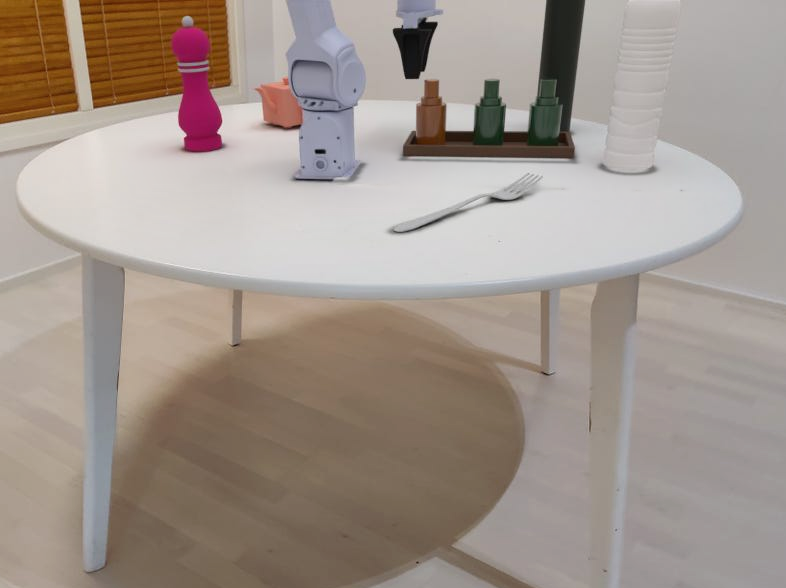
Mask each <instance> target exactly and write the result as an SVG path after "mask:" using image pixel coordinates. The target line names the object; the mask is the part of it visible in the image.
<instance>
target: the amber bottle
mask: <svg viewBox="0 0 786 588" xmlns="http://www.w3.org/2000/svg"><path fill="white" fill-rule="evenodd" d="M447 104H448V103H447V102H444V101H443V96H442V95H440V79H438V78H428V79H424V81H423V96H420V102H417V103H415V131H416V145H446V131H447V111H448V110H447V109H448V107H447Z"/></svg>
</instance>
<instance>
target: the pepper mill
mask: <svg viewBox="0 0 786 588" xmlns="http://www.w3.org/2000/svg"><path fill="white" fill-rule="evenodd" d="M181 24H182V26H183V27H181V28H179V29H177V30H176V31H175V32H174V33H173V34H172V36H171V40H170V46H171V51H172V54H173V55H174V56H175V57H176V58H177V59H178V61H177V62H176V65H177V71H178V72H180V76H181V80H182V88H183V89H182V96H181V101H180V104H179V109H178V112H177V113H178V114H177V123H178V127H179V128H180V130H181V131H182V132H183V133H184V134H185V135H186V136H185V137H183V144H184V149H185V150H186V151H189V152H210V151H214V150H215V151H216V150H219V149H220V148H222V147H223V140H222V135H221V133H218V132H219V130H220V129H221V127H222V125H223V116H222V112H221V110H220V107H219V105H218V103H217V101H216V100H215V98H214V96H213V93H212V92H211V91H212V90H211V88H210V85H209V81H208V71H209V70H210V66H209V62H210V61H209V60H208V59H207V56H208V54H209V53H210V50H211V44H210V43H211V42H210V39H209V37H208V35H207V33H206V32H205V31H204V30H202V29H200V28H198V27H195V26H194V19H193V18H192V17H191V16H189V15H185V16H183V17H182V19H181Z"/></svg>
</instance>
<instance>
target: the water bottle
mask: <svg viewBox="0 0 786 588" xmlns="http://www.w3.org/2000/svg"><path fill="white" fill-rule="evenodd" d="M681 1H682V0H628V1H627V3H626V6H625V9H624V12H623V13H624V14H623V22H622V26H623V27H622V30H621V34H622V35H621V37H620V43H619V47H620V48H619V50H618V54H619V55H618V57H617V61H618V62H617V64H616V71H615V76H614V81H613V87H614V88H613V90H612V96H611V105H610V108H609V115H610V116H609V118H608V122H607V133H606V136H605V141H604V142H605V143H604V144H605V145H604V146H605V148H604V149H603V155H602V162H601V163H602V165H604V166H605V167H607V168H610V169H616V170H621V171H622V170H623V171H624V170H625V171H640V170H641V171H642V170H646V169H647V170H648V169H650V168H652V167H653V165H654V159H655V149H656V147H657V142H658V134H659V131H660V126H661V125H660V124H661V120H660V119H661V117H662V114H663V105H664V102H665V97H666V88H667V86H668V82H669V75H670V68H671V62H672V58H673V57H672V55H673V54H674V45H675V40H676V34H677V31H678V28H677V27H678V25H679V21H680V16H681V11H682V2H681Z"/></svg>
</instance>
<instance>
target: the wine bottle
mask: <svg viewBox="0 0 786 588" xmlns="http://www.w3.org/2000/svg"><path fill="white" fill-rule="evenodd" d="M585 7H586V0H546V1H545V8H544V9H545V10H544V19H543V31H542V40H541V41H542V42H541V49H540V51H541V52H540V62H539V71H538V80H537V81H538V82H537V92H536V96H539V93H540V83H541V79H544V78H554V79H556V80H557V81H556V90H555V96H558V102H559V103H562V104H563V105H562V114H561V122H560V131H559V132H570V130H571V122H572V115H573V114H572V113H573V105H574V97H575V88H576V79H577V71H578V65H579V64H578V63H579V56H580V48H581V39H582V32H583V23H584V16H585V15H584V14H585Z"/></svg>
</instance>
